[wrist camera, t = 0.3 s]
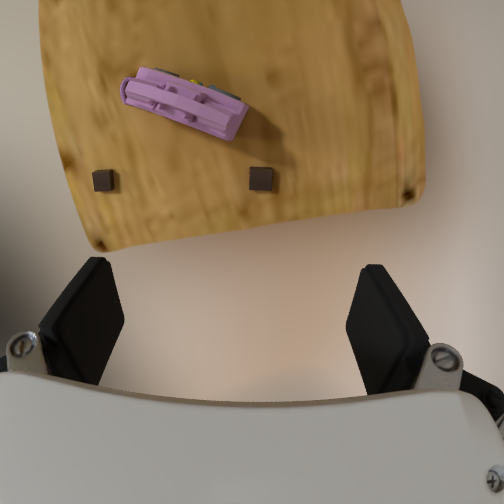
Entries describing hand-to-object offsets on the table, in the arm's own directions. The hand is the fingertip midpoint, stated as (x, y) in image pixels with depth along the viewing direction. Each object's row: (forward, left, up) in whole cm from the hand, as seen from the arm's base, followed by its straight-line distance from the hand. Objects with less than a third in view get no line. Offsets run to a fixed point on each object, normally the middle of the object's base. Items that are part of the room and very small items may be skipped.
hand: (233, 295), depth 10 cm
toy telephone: (-7, -9, -31) cm, 33 cm away
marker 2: (+4, +2, -31) cm, 31 cm away
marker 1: (+4, -21, -31) cm, 37 cm away
